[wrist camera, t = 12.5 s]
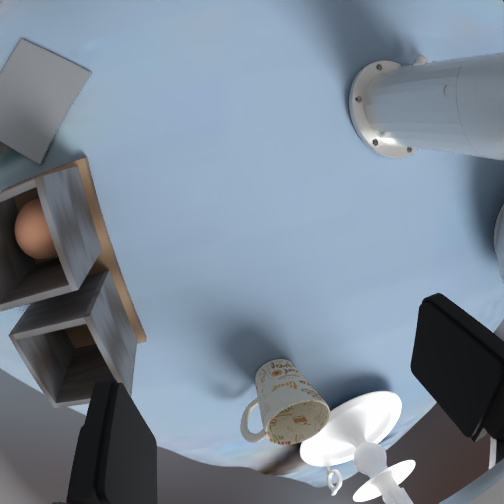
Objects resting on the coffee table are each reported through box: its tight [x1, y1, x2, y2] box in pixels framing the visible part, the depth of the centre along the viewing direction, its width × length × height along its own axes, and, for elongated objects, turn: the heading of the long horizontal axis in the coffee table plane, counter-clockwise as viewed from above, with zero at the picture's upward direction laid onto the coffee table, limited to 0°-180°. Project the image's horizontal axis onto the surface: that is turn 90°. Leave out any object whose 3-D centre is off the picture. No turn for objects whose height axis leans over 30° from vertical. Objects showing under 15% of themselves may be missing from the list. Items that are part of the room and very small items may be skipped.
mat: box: [0, 39, 91, 165], centre depth 25 cm, size 11×11×1 cm
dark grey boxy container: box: [0, 157, 146, 408], centre depth 27 cm, size 22×11×11 cm, turn 11°
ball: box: [15, 198, 57, 259], centre depth 27 cm, size 6×6×6 cm
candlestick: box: [300, 391, 415, 504], centre depth 40 cm, size 21×25×28 cm
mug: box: [240, 359, 330, 445], centre depth 39 cm, size 8×13×10 cm, turn 137°
